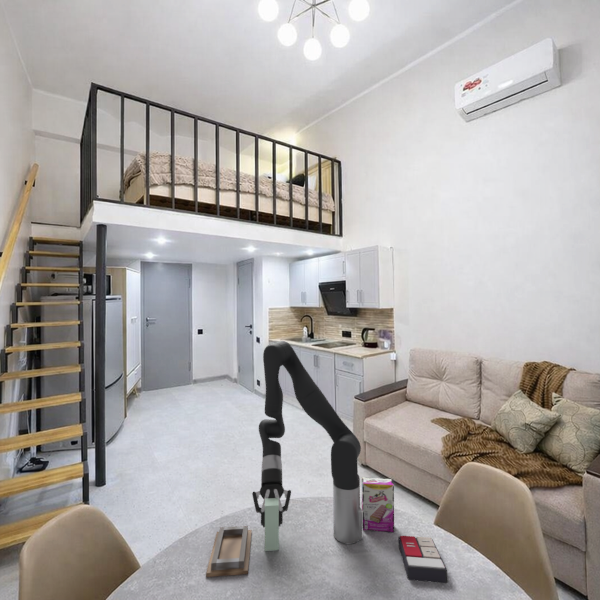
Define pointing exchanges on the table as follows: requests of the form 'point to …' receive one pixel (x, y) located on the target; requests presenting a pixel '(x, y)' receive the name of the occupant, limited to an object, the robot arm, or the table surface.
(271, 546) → the pale green angular block
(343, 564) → the table surface
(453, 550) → the table surface
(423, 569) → the calculator
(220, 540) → the track
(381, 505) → the candy bar box
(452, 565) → the table surface
